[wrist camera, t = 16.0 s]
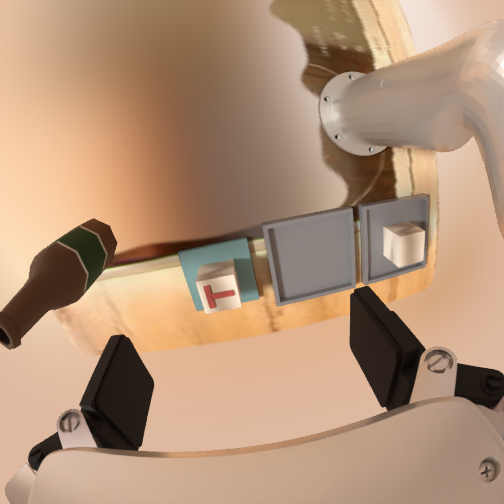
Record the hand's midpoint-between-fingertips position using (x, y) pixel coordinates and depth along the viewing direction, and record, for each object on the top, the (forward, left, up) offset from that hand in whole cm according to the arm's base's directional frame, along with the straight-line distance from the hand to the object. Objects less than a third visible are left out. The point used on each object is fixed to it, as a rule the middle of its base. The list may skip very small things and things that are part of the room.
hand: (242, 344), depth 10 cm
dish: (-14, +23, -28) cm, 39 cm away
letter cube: (+9, +6, -28) cm, 30 cm away
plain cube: (-14, +23, -28) cm, 39 cm away
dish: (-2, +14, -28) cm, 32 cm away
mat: (+9, +6, -28) cm, 30 cm away
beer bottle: (+18, -12, -28) cm, 36 cm away
